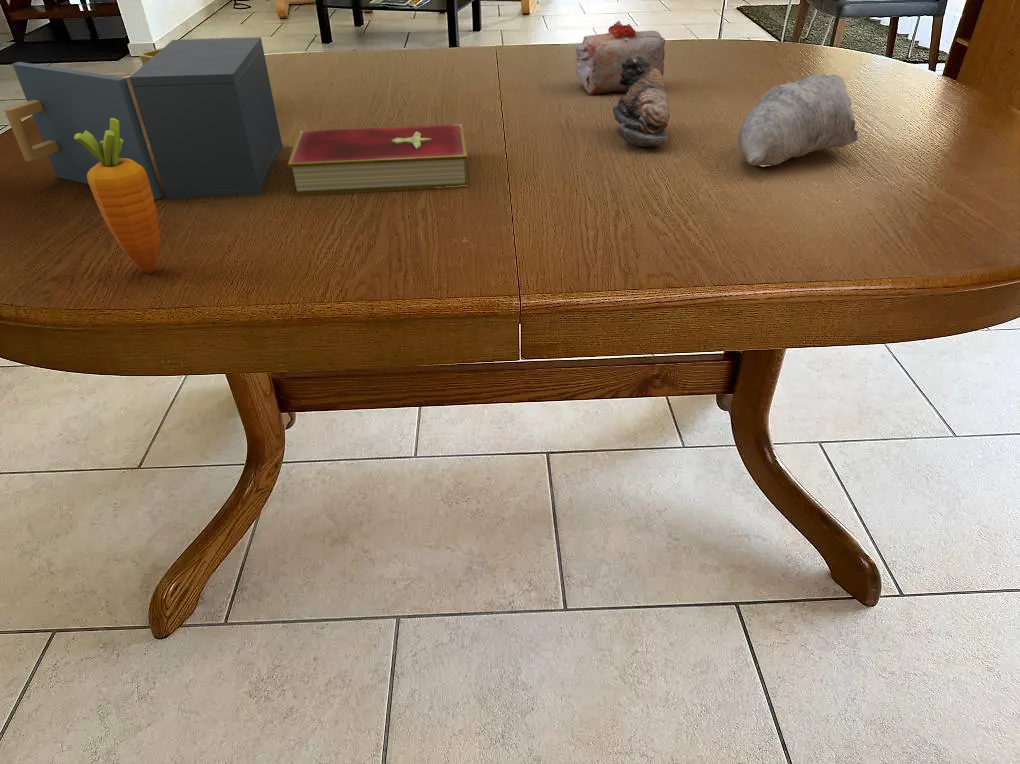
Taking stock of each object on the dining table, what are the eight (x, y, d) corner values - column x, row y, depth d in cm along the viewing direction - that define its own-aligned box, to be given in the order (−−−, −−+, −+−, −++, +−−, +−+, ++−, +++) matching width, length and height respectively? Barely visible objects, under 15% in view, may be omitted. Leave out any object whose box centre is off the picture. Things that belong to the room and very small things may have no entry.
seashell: (742, 181, 91) (758, 98, 85) (717, 140, 103) (729, 64, 97) (873, 180, 91) (898, 97, 85) (833, 139, 103) (853, 63, 97)
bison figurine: (676, 151, 99) (686, 73, 93) (625, 155, 99) (632, 76, 92) (649, 123, 109) (657, 50, 103) (602, 125, 108) (607, 52, 102)
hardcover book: (305, 159, 98) (300, 127, 96) (463, 152, 100) (462, 120, 97) (293, 196, 89) (287, 161, 86) (468, 187, 90) (467, 153, 88)
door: (129, 213, 85) (86, 90, 77) (28, 189, 91) (-22, 72, 82) (163, 197, 89) (126, 77, 80) (63, 175, 94) (19, 61, 86)
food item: (584, 98, 119) (587, 31, 113) (571, 84, 125) (574, 20, 119) (665, 92, 121) (672, 26, 115) (648, 78, 127) (655, 16, 121)
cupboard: (166, 199, 88) (128, 77, 80) (201, 149, 102) (172, 39, 93) (260, 195, 89) (232, 73, 81) (282, 145, 103) (261, 37, 94)
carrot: (123, 290, 71) (65, 135, 62) (124, 267, 75) (69, 117, 66) (177, 280, 73) (128, 127, 64) (175, 258, 77) (129, 110, 67)
